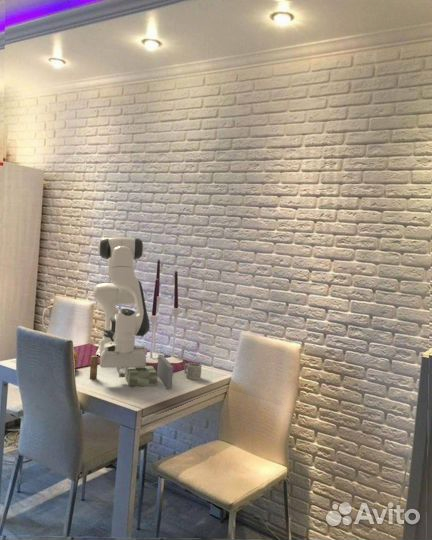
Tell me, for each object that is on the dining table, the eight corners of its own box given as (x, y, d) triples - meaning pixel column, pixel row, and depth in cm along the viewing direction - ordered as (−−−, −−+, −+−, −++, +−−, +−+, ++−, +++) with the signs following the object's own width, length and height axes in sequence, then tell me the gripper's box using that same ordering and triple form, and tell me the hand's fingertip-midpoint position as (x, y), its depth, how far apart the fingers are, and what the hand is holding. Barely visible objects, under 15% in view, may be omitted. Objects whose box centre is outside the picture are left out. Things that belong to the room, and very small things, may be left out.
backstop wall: (156, 375, 231) (158, 354, 231) (160, 375, 232) (162, 354, 231) (167, 389, 210) (168, 367, 210) (171, 389, 211) (173, 367, 211)
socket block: (125, 378, 221) (126, 365, 221) (151, 378, 225) (152, 365, 225) (129, 386, 210) (130, 373, 210) (156, 386, 214) (157, 372, 214)
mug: (203, 379, 232) (204, 365, 231) (193, 381, 227) (194, 367, 226) (189, 373, 238) (190, 360, 238) (179, 375, 234) (180, 362, 233)
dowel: (89, 377, 219) (90, 355, 218) (96, 377, 220) (97, 355, 219) (89, 379, 216) (91, 357, 215) (96, 379, 217) (98, 357, 216)
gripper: (146, 344, 220) (143, 374, 221) (100, 344, 214) (98, 375, 215) (148, 348, 214) (146, 378, 215) (101, 347, 208) (99, 379, 209)
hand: (121, 376), depth 215 cm, fingers closed
